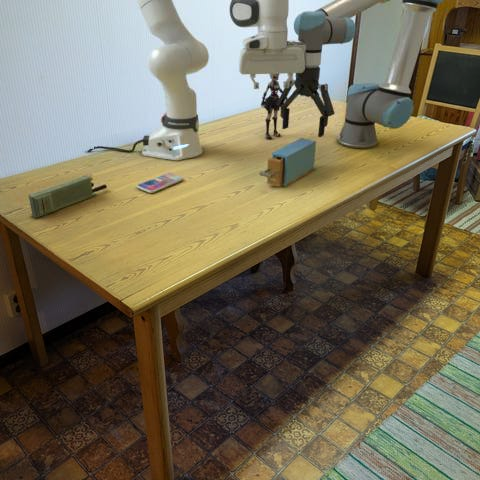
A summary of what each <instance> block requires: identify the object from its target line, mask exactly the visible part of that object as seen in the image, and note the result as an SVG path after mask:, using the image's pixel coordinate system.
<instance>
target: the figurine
mask: <svg viewBox="0 0 480 480" xmlns="http://www.w3.org/2000/svg"><path fill="white" fill-rule="evenodd" d="M268 75H269V78H270V79H271V81H269V82H268V83H267V86H266V89H265V91H264V92H263V94H262V97H261V103H260V107H261V108H264V109H265V110H266V111H267V115H266V118H265V128H266V129H265V134H264V135H265V138H266V139H267V140H272V136H271V134H270V123H271V122H272V121H273V132H272V133H273V136H276V137H281V133H280V132H278V130H277V125H278V114H279V111H280V110H281V107H279V106H277V105H276V104H277V102H278V100H279V98H280V95H279V94H282V92H283V90H284V89H282V88H281V86H280V83H279V81H278V80H279V76H280V74H268ZM269 90H270V95H269V96H268V97H267V94H268V93H269ZM278 92H279V94H278ZM288 98H289V97H287V98H286V99H285V101H286V100H287V99H288ZM272 115H273V116H272ZM279 117H281V114H279Z"/></svg>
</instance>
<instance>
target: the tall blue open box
mask: <svg viewBox="0 0 480 480" xmlns="http://www.w3.org/2000/svg"><path fill="white" fill-rule="evenodd" d="M316 147H317V141H316V140H313V139H309V138H305V137H300V138H298V139H296V140H295V141H292V142H290V143H288V144H286V145H284V146H282V147H280V148H278V149H276V150H274V151H272V152H271V158H274V157H276V156H278V157H282V158H285V168H284V181H283V182H282V183H281V186H282V187H288V186H290V185H291V184H293V183H294V182H295V181H297V180H299V179H300V178H302V177H304V176H306V175H308V174H310V173H311V172H312V171H314V169H315V158H316Z"/></svg>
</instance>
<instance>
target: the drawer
mask: <svg viewBox="0 0 480 480" xmlns="http://www.w3.org/2000/svg"><path fill="white" fill-rule="evenodd" d="M284 168H285V158H282V157H278V156H276V157H274V158H272V157H268V158H267V169H265V170H263V171H261V170H260V171H259V176H261V177H265V178H267V179H266V180H267V181H266V184H268V185H271V186H275V187H278V188H280V186H281V183H282V182H283V181H284Z"/></svg>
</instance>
